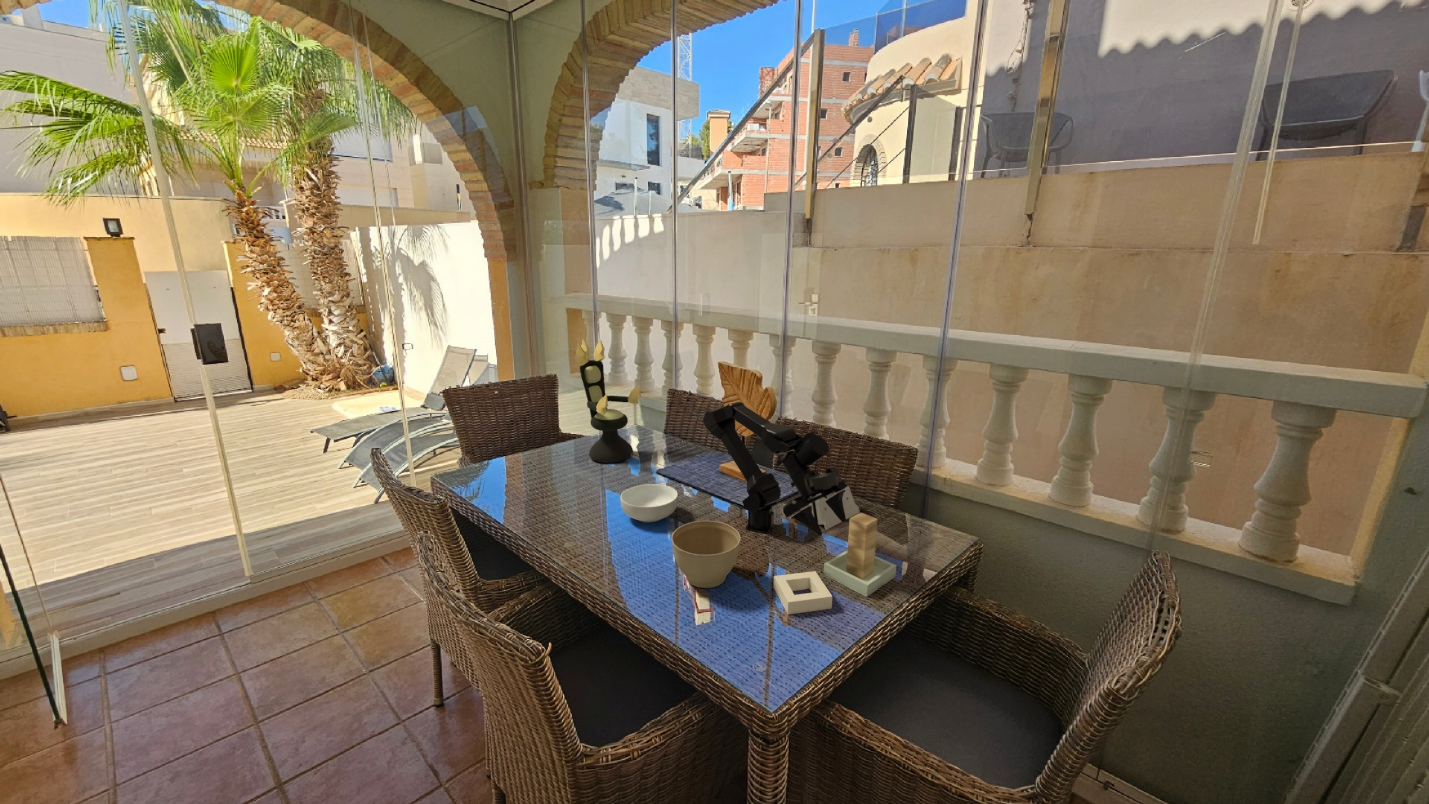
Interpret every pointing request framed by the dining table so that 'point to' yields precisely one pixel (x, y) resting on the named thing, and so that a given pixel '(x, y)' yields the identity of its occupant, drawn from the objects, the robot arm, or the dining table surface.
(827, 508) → the white napkin holder
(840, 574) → the tray
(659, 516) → the cereal bowl
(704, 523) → the planter bowl
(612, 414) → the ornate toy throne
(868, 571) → the wooden block
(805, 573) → the block
